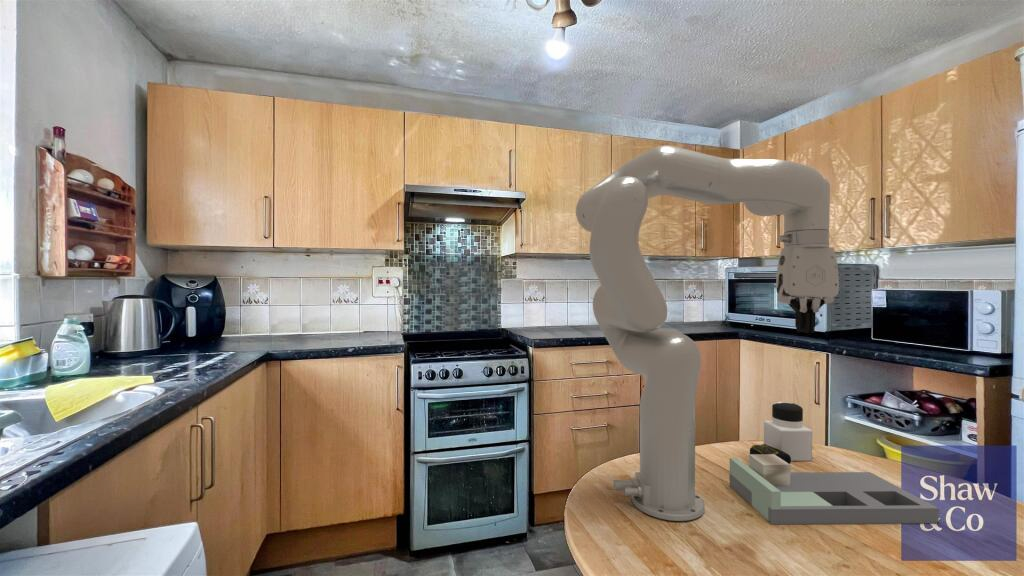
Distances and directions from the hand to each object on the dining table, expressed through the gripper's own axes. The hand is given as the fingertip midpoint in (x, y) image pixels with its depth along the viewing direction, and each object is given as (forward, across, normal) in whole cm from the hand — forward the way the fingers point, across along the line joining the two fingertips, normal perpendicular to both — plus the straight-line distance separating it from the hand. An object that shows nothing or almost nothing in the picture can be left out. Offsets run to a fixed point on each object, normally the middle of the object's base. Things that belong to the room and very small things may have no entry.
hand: (805, 331), depth 88 cm
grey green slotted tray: (+30, -2, -9) cm, 32 cm away
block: (+28, -10, -5) cm, 30 cm away
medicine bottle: (+30, +5, +13) cm, 34 cm away
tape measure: (+31, -2, +8) cm, 32 cm away
